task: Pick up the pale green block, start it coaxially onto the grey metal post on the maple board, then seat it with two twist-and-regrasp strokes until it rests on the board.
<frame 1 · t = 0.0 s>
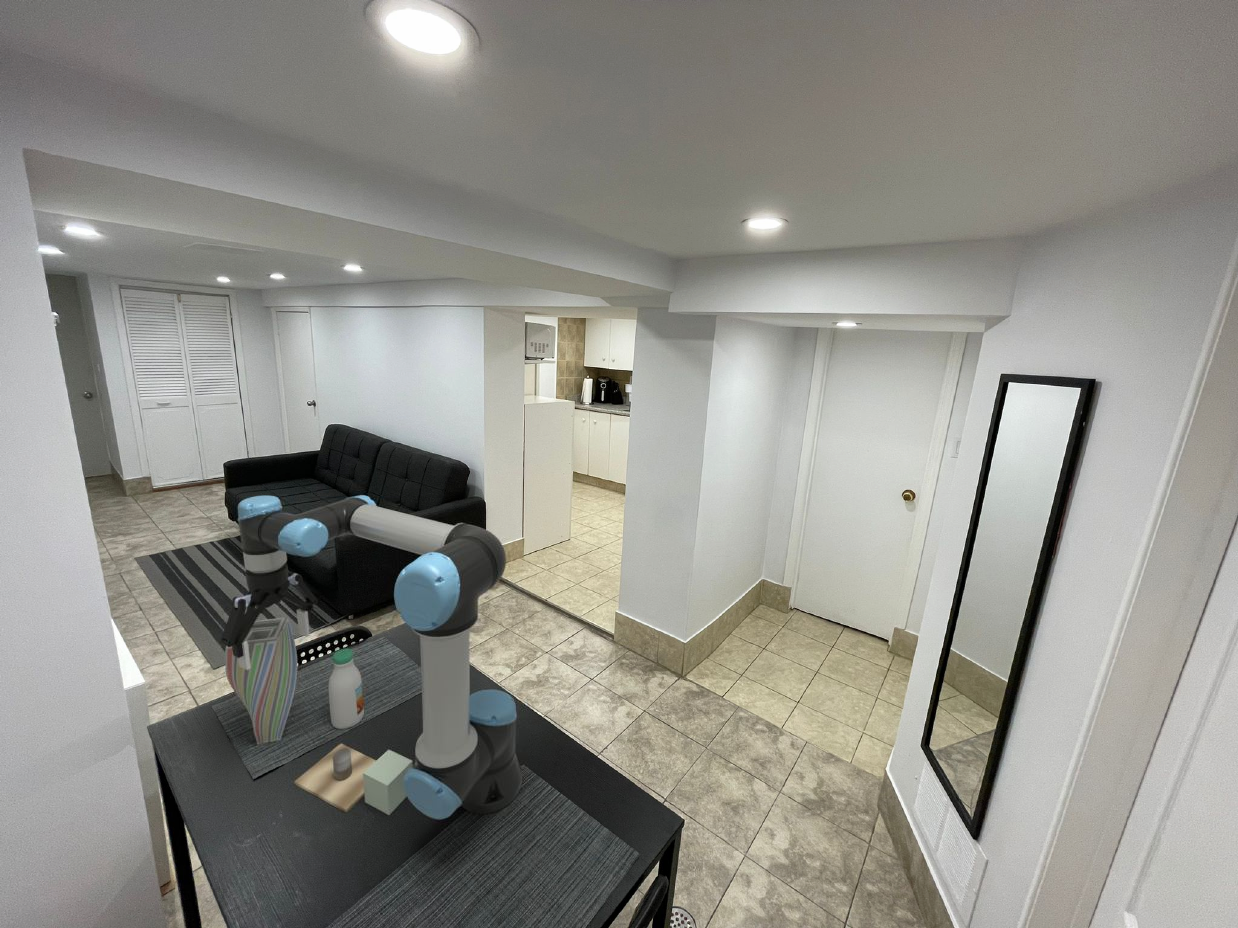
hand: (276, 650, 114), 28 cm above the table, fingers open, 13 cm apart
milk bottle: (348, 719, 131), on the table
post base: (343, 776, 115), on the table
pale green block: (389, 795, 111), on the table
vase: (271, 735, 125), on the table
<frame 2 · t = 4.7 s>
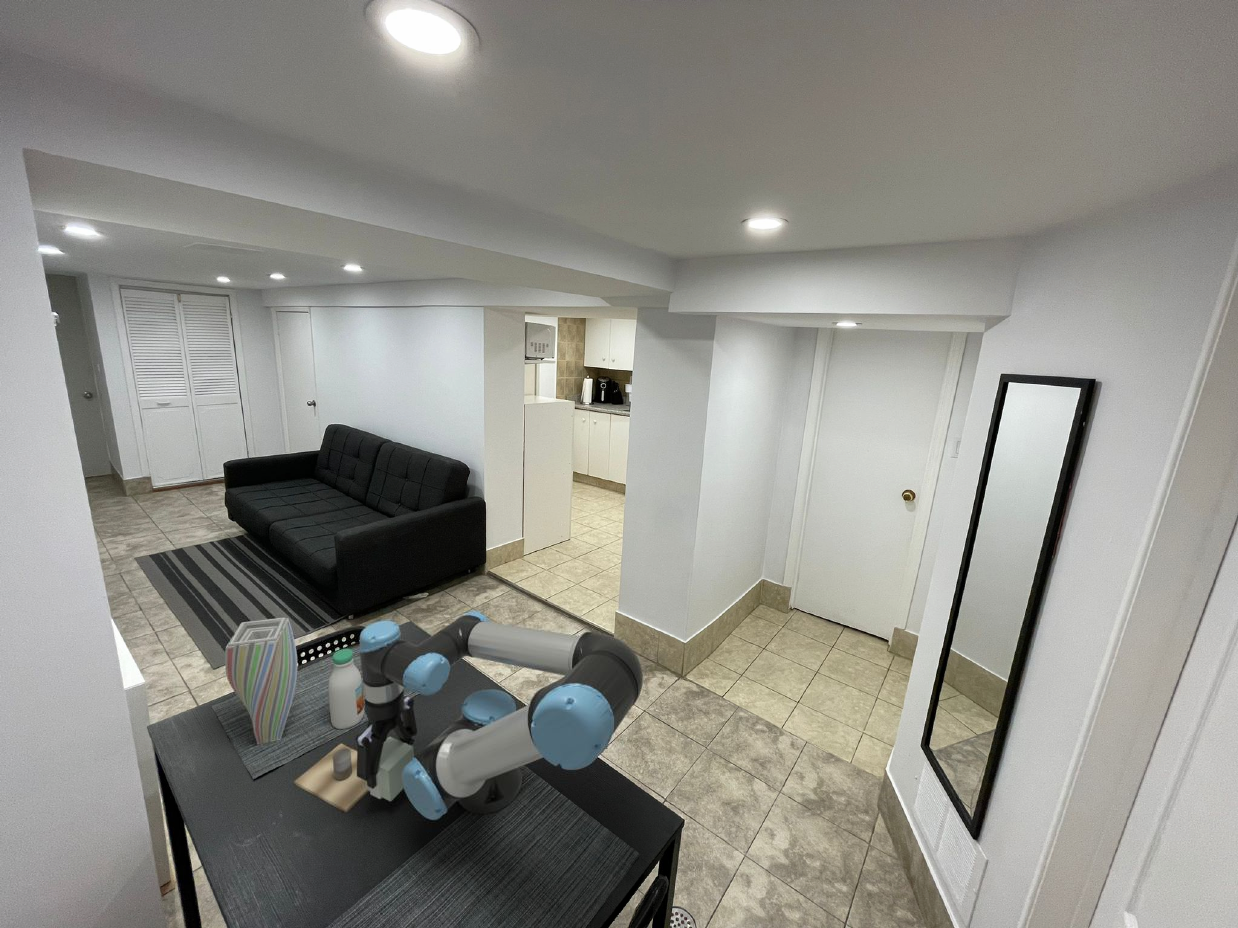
hand: (390, 781, 110), 4 cm above the table, fingers closed on pale green block, 7 cm apart
pale green block: (391, 782, 110), point 4 cm above the table, touching gripper
everything else where it was.
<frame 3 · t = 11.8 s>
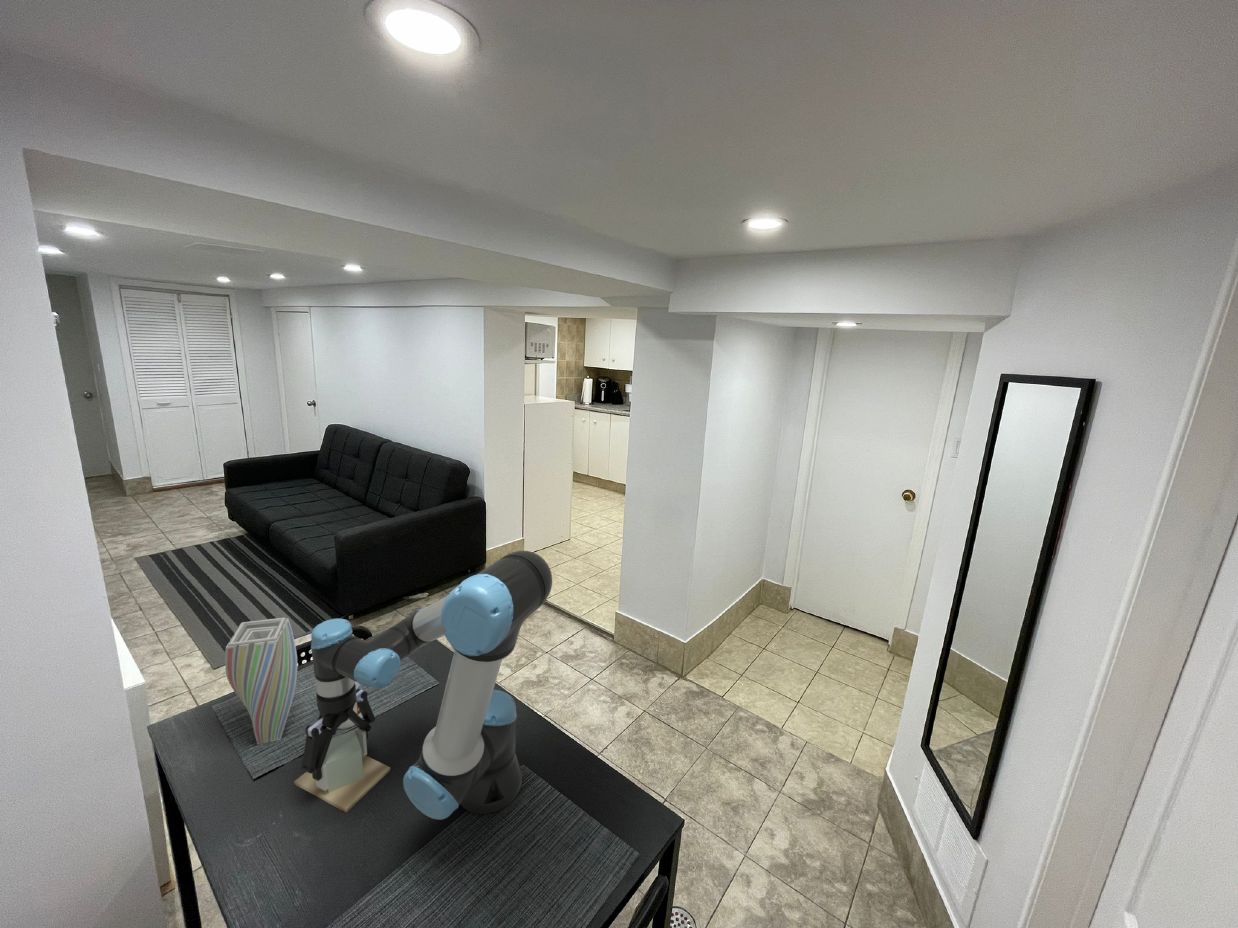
hand: (342, 769, 114), 2 cm above the table, fingers closed on pale green block, 10 cm apart
pale green block: (343, 774, 115), point 1 cm above the table, touching gripper, post base
everything else where it was.
when the fingers open (4 cm above the table, at t = 13.1 s): pale green block drops 2 cm, resting on post base.
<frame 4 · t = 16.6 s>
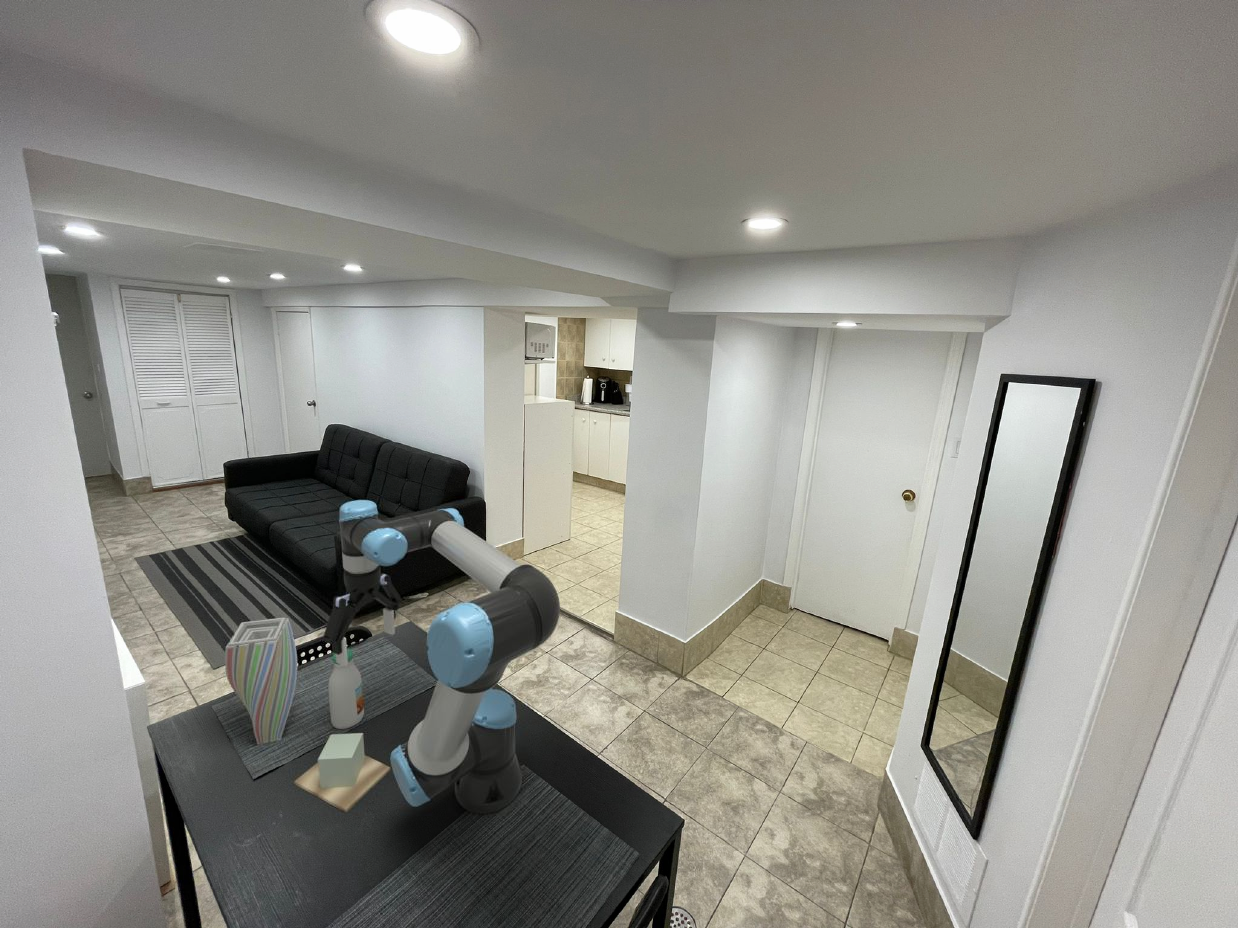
hand: (367, 647, 119), 27 cm above the table, fingers open, 13 cm apart
pale green block: (343, 773, 115), point 1 cm above the table, touching post base
everything else where it was.
at the end: pale green block 0.1 cm off-centre on the post base, point 0.8 cm above the post base's base; the gripper is holding nothing; pale green block tilted 0° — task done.
